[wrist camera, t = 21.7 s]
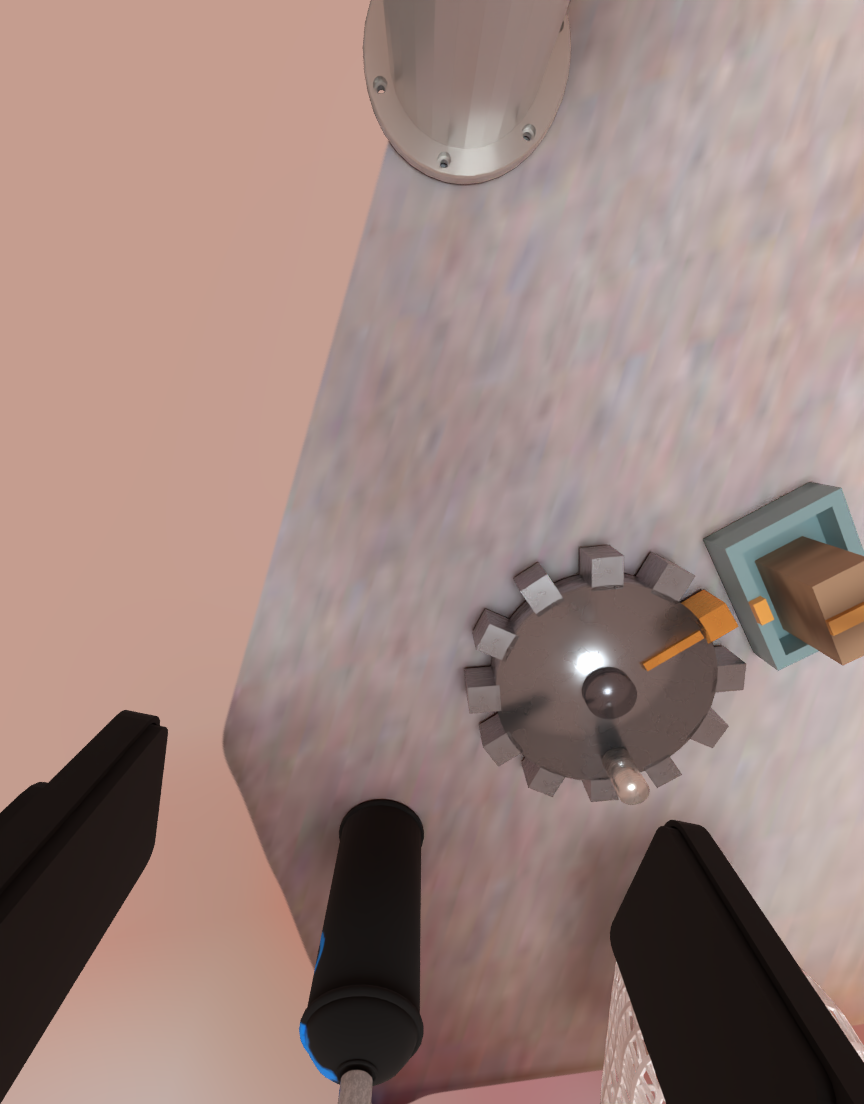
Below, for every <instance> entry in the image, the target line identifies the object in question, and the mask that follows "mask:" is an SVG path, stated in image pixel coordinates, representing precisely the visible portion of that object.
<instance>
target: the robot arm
mask: <svg viewBox="0 0 864 1104" xmlns="http://www.w3.org/2000/svg"><path fill="white" fill-rule="evenodd" d="M569 2H570V0H371V1H370V6H369V10H368V13H367V17H366V21H365V29H364V40H363V58H364V73H365V78H366V84H367V89H368V94H369V98H370V101H371V104H372V107H373V111H374V114H375V116H376V118H377V120H378V122H379V124H380V126H381V129H382V131H383V133H384V134H385V136H386V137H387V139H388V140H389V141H390V143H391V144H392V146H393V147H394V148H395V150H396V151H397V152H398V153H399V154H400V155H401V156H402V157H403V158H404V159H405V160H406V161H407V162H408V163H409V164H410V165H412V166H413V167H415V168H416V169H418V170H420V171H421V172H423V173H424V174H426V175H427V176H430V177H433V178H436V179H438V180H441V181H444V182H449V183H456V184H473V183H482V182H485V181H488V180H491V179H494V178H497V177H500V176H502V175H503V174H505V173H507V172H509V171H510V170H512V169H514V168H516V167H517V166H518V165H519V164H520V163H521V162H522V161H524V160H525V159H526V158H527V157H528V156H529V155H530V154H531V153H532V152H533V151H534V150H535V148H536V147H537V146H538V145H539V143H540V142H541V141H542V139H543V138H544V137H545V135H546V133H547V131H548V129H549V127H550V126H551V124H552V122H553V120H554V118H555V116H556V113H557V111H558V108H559V106H560V104H561V101H562V99H563V95H564V91H565V88H566V84H567V80H568V76H569V67H570V58H571V38H570V25H569V20H568V15H567V8H568V5H569ZM379 90H384V91H385V92H384V93H378V91H379ZM524 136H528V137H529V139H530V140H529V141H527V140H525V139H524V138H523V137H524ZM441 163H446V164H447V166H448V167H447V168H442V167H440V164H441ZM167 736H168V729H167V728H166V727H162V726H160V720H159V717H157V716H153V715H148V714H143V713H138V712H133V711H128V710H124V711H122V712H120V713H119V714H118V715H116V716H115V717H114V718H113V719H112V720H111V721H110V722H109V724H107V725H106V726H105V727H104V728H103V729H102V730H101V731H100V732H99V733H98V734H97V735H96V736H95V737H94V738H93V739H92V740H91V741H90V742H89V743H88V744H87V745H86V746H85V747H84V748H83V749H82V750H81V751H80V752H79V753H78V754H77V755H76V756H75V757H74V758H73V759H72V760H71V761H70V762H69V763H68V764H67V765H66V766H65V767H64V768H63V769H62V770H61V771H60V772H59V773H58V774H57V775H56V776H55V777H54V778H53V779H52V780H51V781H50V782H49V783H46V782H38V783H36V784H34V785H31V786H30V787H29V788H27V789H26V790H25V791H24V792H22V793H21V794H20V795H19V796H18V797H17V798H16V799H15V800H14V801H13V802H11V803H10V804H9V805H8V806H7V807H6V808H5V809H4V810H3V811H2V812H1V813H0V1103H1V1102H2V1100H3V1099H4V1097H5V1095H6V1094H7V1092H8V1090H9V1089H10V1087H11V1086H12V1084H13V1082H14V1081H15V1079H16V1077H17V1076H18V1074H19V1073H20V1071H21V1069H22V1068H23V1066H24V1064H25V1063H26V1061H27V1059H28V1058H29V1056H30V1055H31V1053H32V1051H33V1050H34V1048H35V1046H36V1044H37V1043H38V1041H39V1040H40V1038H41V1037H42V1035H43V1033H44V1032H45V1030H46V1028H47V1027H48V1025H49V1024H50V1022H51V1020H52V1019H53V1017H54V1015H55V1014H56V1012H57V1011H58V1009H59V1007H60V1005H61V1004H62V1002H63V1001H64V999H65V997H66V996H67V994H68V993H69V991H70V989H71V988H72V986H73V984H74V983H75V981H76V980H77V978H78V976H79V975H80V973H81V971H82V970H83V968H84V967H85V964H86V963H87V961H88V960H89V958H90V957H91V955H92V953H93V952H94V950H95V949H96V947H97V945H98V944H99V942H100V940H101V939H102V937H103V935H104V934H105V932H106V930H107V929H108V927H109V926H110V924H111V922H112V921H113V919H114V918H115V916H116V914H117V912H118V911H119V909H120V908H121V906H122V904H123V903H124V901H125V900H126V898H127V896H128V895H129V893H130V891H131V890H132V888H133V887H134V885H135V883H136V882H137V880H138V878H139V877H140V875H141V874H142V872H143V870H144V868H145V867H146V865H147V863H148V861H149V859H150V857H151V854H152V851H153V848H154V844H155V838H156V829H157V821H158V812H159V804H160V795H161V786H162V778H163V770H164V762H165V754H166V745H167ZM610 940H611V946H612V950H613V953H614V956H615V958H616V961H617V964H618V967H619V970H620V973H621V976H622V979H623V981H624V984H625V987H626V990H627V993H628V996H629V999H630V1001H631V1004H632V1007H633V1010H634V1013H635V1016H636V1019H637V1022H638V1024H639V1027H640V1030H641V1033H642V1036H643V1039H644V1042H645V1044H646V1047H647V1050H648V1053H649V1056H650V1059H651V1062H652V1065H653V1067H654V1070H655V1073H656V1076H657V1079H658V1082H659V1085H660V1087H661V1090H662V1093H663V1096H664V1099H665V1102H666V1104H864V1062H863V1060H862V1059H861V1057H860V1056H859V1054H858V1053H857V1051H856V1050H855V1049H854V1047H853V1046H852V1044H851V1043H850V1041H849V1040H848V1038H847V1037H846V1035H845V1034H844V1032H843V1031H842V1029H841V1028H840V1026H839V1025H838V1023H837V1022H836V1020H835V1019H834V1017H833V1016H832V1014H831V1013H830V1011H829V1010H828V1008H827V1007H826V1006H825V1004H824V1003H823V1001H822V1000H821V998H820V997H819V995H818V994H817V992H816V991H815V989H814V988H813V986H812V985H811V983H810V982H809V980H808V979H807V977H806V976H805V974H804V973H803V971H802V970H801V968H800V967H799V966H798V964H797V963H796V961H795V960H794V958H793V957H792V955H791V954H790V952H789V951H788V949H787V948H786V946H785V945H784V943H783V942H782V940H781V939H780V937H779V936H778V934H777V933H776V931H775V930H774V928H773V927H772V925H771V924H770V923H769V921H768V920H767V918H766V917H765V915H764V914H763V912H762V911H761V909H760V908H759V906H758V905H757V903H756V902H755V900H754V899H753V897H752V896H751V894H750V893H749V891H748V890H747V888H746V887H745V885H744V884H743V883H742V881H741V880H740V878H739V877H738V875H737V874H736V872H735V871H734V869H733V868H732V866H731V865H730V863H729V862H728V860H727V859H726V857H725V856H724V854H723V853H722V851H721V850H720V848H719V847H718V845H717V844H716V842H715V841H714V840H713V838H712V837H711V835H710V834H709V832H708V831H707V830H706V829H705V828H704V827H702V826H700V825H696V824H691V823H686V822H681V821H676V820H670V821H668V822H667V823H666V824H665V825H664V826H661V827H659V828H658V830H657V831H656V833H655V835H654V837H653V839H652V841H651V843H650V846H649V848H648V850H647V852H646V854H645V856H644V858H643V860H642V862H641V864H640V866H639V868H638V871H637V873H636V875H635V877H634V879H633V881H632V883H631V885H630V887H629V889H628V891H627V894H626V896H625V898H624V900H623V902H622V904H621V906H620V908H619V910H618V912H617V914H616V917H615V919H614V921H613V923H612V926H611V931H610Z"/></svg>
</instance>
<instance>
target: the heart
mask: <svg viewBox="0 0 864 1104" xmlns="http://www.w3.org/2000/svg"><path fill="white" fill-rule="evenodd" d="M801 970H802V969H801ZM802 971H803V970H802ZM803 973H804V974H805V976H806V977H807V979H808V980H809V982H810V983H811V985H812V986H813V988H814V989H815V991H816V992H817V994H818V995H819V997H820V998H821V1000H822V1001H823V1003H824V1004H825V1006H826V1007H827V1008H828V1010H832V1011H833V1012H834V1014H835V1016H836V1017H837V1019H838V1021H839V1022H840V1023H839V1022H838V1021H837V1019H836V1018H835V1017H834V1016H833V1014H832V1013H831V1012H830V1013H831V1014H832V1016H833V1017H834V1019H835V1020H836V1022H837V1023H838V1025H839V1026H840V1028H841V1029H842V1031H843V1032H844V1034H845V1035H846V1037H847V1038H848V1040H849V1041H850V1043H851V1044H852V1046H853V1047H854V1049H855V1050H856V1051H857V1053H858V1054H859V1056H860V1057H861V1059H862V1060H863V1062H864V1045H863V1044H862V1042H861V1040H860V1039H859V1037H858V1036H857V1034H856V1033H855V1031H854V1029H853V1028H852V1026H851V1025H850V1023H849V1022H848V1020H847V1018H846V1017H845V1015H844V1014H843V1013H842V1011H841V1010H840V1009H839V1008H838V1006H837V1005H836V1004H835V1003H834V1002H833V1001H832V999H831V998H830V997H829V996H828V995H827V994H826V993H825V991H824V990H823V989H822V988H821V987H820V986H819V985H818V984H817V983H816V982H815V981H814V980H813V979H812V978H811V977H810V976H809V975H808V974H807V973H806V972H805V971H803ZM630 1010H632V1011H630ZM630 1016H632V1018H633V1026H634V1028H633V1030H632V1031H631V1028H630ZM625 1023H626V1026H625ZM640 1033H641V1030H640V1027H639V1024H638V1022H637V1019H636V1016H635V1013H634V1010H633V1007H632V1004H631V1001H630V999H629V996H628V993H627V990H626V987H625V984H624V981H623V979H622V976H621V973H620V970H619V967H618V964H617V961H616V966H615V973H614V980H613V987H612V994H611V1002H610V1011H609V1021H608V1030H607V1037H606V1048H605V1059H604V1067H603V1074H602V1085H601V1099H600V1100H601V1101H600V1104H649V1103H648V1101H647V1099H646V1094H647V1096H648V1098H649V1100H650V1102H651V1104H662V1101H663V1100H664V1101H665V1099H664V1096H663V1093H662V1090H661V1087H660V1085H659V1083H658V1081H657V1079H656V1075H655V1070H654V1067H653V1065H652V1062H651V1059H650V1056H649V1054H648V1055H646V1052H645V1048H644V1045H643V1041H642V1039H643V1036H642V1034H640ZM635 1039H636V1046H637V1056H636V1053H635V1049H634V1046H633V1041H634V1040H635ZM617 1056H618V1057H617ZM631 1056H632V1057H631ZM633 1063H634V1066H635V1070H636V1073H635V1070H634V1067H633ZM650 1065H651V1066H650ZM615 1068H616V1072H617V1077H618V1083H617V1082H616V1075H615ZM646 1070H647V1072H648V1074H649V1077H650V1079H651V1081H652V1083H653V1084H647V1083H646V1081H645V1079H644V1077H643V1074H644V1073H645V1071H646ZM611 1081H612V1084H611ZM610 1084H611V1085H610ZM625 1089H627V1092H628V1095H629V1098H630V1101H629V1098H628V1096H627V1093H626V1090H625ZM651 1091H654V1092H655V1099H654V1097H653V1095H652V1093H651ZM612 1092H613V1097H612ZM645 1092H646V1093H645ZM620 1095H622V1101H621V1098H620Z"/></svg>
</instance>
